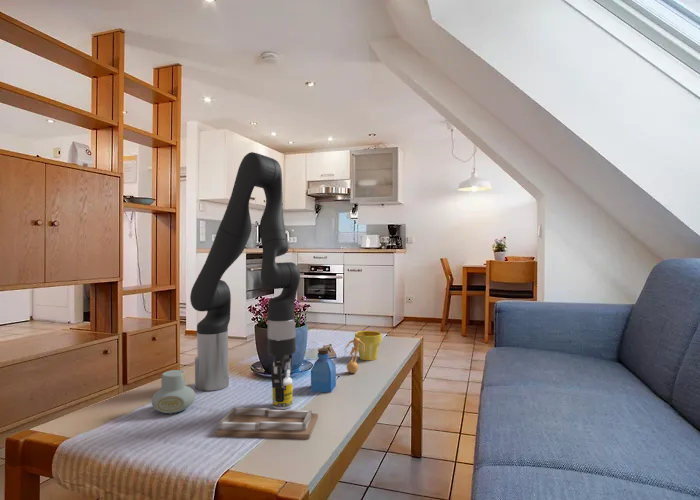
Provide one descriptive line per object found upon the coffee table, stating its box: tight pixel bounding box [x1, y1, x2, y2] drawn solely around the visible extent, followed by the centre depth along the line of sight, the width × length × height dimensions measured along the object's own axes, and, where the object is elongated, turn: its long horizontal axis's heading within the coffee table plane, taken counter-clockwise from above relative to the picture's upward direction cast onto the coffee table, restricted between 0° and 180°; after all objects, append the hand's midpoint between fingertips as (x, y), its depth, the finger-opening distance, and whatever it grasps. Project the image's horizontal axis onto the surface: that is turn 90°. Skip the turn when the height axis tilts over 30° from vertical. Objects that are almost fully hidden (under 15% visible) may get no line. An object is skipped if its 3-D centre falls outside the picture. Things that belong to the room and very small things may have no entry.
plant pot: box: [354, 330, 383, 362], centre depth 165 cm, size 10×10×10 cm
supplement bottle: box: [272, 369, 293, 410], centre depth 117 cm, size 5×5×10 cm
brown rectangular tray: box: [215, 407, 319, 440], centre depth 104 cm, size 22×12×2 cm, turn 85°
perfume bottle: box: [310, 347, 337, 393], centre depth 131 cm, size 6×6×12 cm
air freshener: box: [150, 369, 196, 414], centre depth 116 cm, size 11×8×10 cm
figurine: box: [344, 336, 365, 374], centre depth 148 cm, size 8×6×12 cm
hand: (282, 397), depth 117 cm, fingers closed on supplement bottle, 5 cm apart
